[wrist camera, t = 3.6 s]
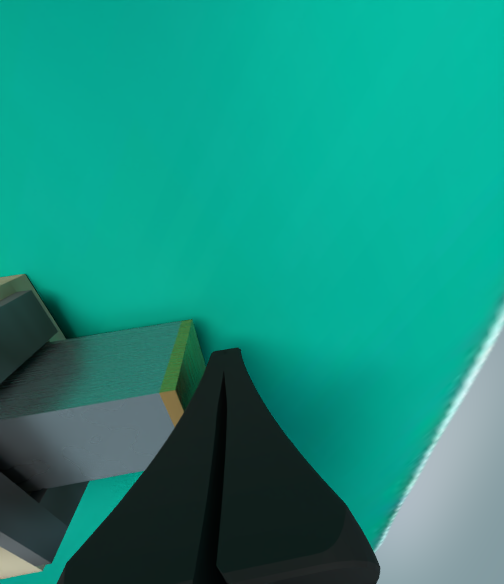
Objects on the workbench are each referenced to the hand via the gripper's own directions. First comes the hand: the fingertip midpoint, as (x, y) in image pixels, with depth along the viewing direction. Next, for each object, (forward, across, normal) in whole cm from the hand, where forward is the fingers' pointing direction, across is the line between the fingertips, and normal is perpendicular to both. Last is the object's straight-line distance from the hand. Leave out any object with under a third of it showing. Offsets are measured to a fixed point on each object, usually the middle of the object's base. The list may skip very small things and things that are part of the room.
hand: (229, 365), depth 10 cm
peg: (+1, +8, 0) cm, 8 cm away
